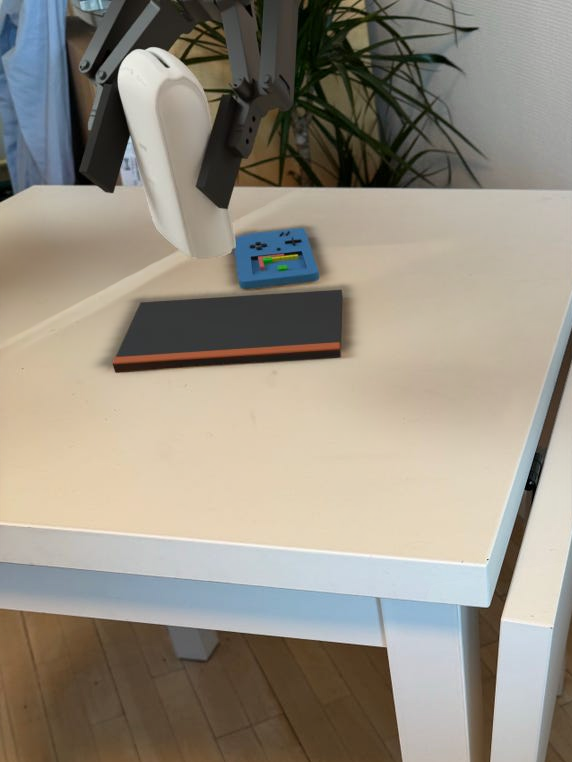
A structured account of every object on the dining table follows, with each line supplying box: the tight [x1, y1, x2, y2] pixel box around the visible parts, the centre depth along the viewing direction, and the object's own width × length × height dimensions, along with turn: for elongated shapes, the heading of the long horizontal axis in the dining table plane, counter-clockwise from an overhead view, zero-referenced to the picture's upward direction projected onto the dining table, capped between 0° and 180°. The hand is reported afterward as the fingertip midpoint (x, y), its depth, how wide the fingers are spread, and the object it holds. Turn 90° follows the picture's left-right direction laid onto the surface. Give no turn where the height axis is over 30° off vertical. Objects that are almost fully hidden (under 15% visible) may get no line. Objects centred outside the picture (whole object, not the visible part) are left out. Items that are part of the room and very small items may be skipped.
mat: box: [112, 289, 344, 373], centre depth 86 cm, size 20×14×1 cm
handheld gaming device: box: [233, 227, 320, 290], centre depth 99 cm, size 8×1×15 cm
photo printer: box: [118, 47, 236, 261], centre depth 65 cm, size 10×4×12 cm, turn 31°
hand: (152, 190), depth 64 cm, fingers closed on photo printer, 10 cm apart
